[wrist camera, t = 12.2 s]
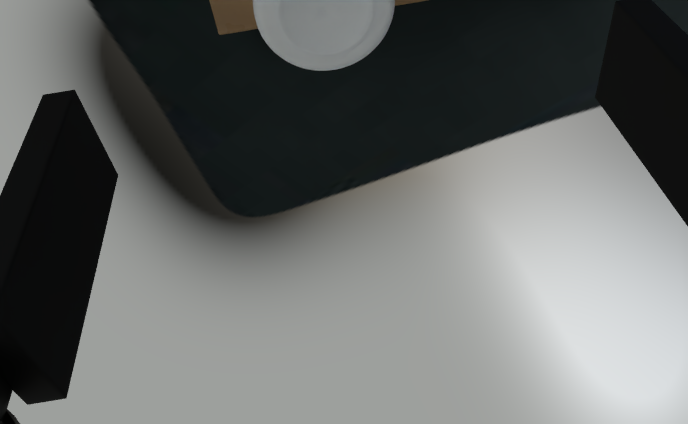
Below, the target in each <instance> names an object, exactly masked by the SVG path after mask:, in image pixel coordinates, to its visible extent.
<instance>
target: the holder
mask: <svg viewBox="0 0 688 424" xmlns="http://www.w3.org/2000/svg"><path fill="white" fill-rule="evenodd" d="M209 1H210V5H211V8H212V12H213V15H214V19H215V22H216V26H217V29H218V33H219V35H223V34H229V33H235V32H241V31H247V30H253V29H258V27H257V24H256V20H255V16H254V10H253V0H209ZM421 1H427V0H395V6H397V5H403V4H409V3H415V2H421Z"/></svg>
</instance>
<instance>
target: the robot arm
mask: <svg viewBox="0 0 688 424" xmlns="http://www.w3.org/2000/svg"><path fill="white" fill-rule="evenodd" d="M595 98H596V99H597V101H598V102H599V103H600V105H601V106H602V107H603V109H604V110H605V111H606V113H607V114H608V116H609V117H610V118H611V120H612V121H613V123H614V124H615V126H616V127H617V128H618V130H619V131H620V133H621V134H622V135H623V137H624V138H625V139H626V141H627V142H628V143H629V145H630V146H631V148H632V149H633V151H634V152H635V153H636V155H637V156H638V158H639V159H640V160H641V162H642V163H643V165H644V166H645V167H646V169H647V170H648V172H649V173H650V174H651V176H652V177H653V178H654V180H655V181H656V183H657V184H658V186H659V187H660V188H661V190H662V191H663V192H664V194H665V195H666V197H667V198H668V199H669V201H670V202H671V204H672V205H673V206H674V208H675V209H676V211H677V212H678V213H679V215H680V216H681V218H682V219H683V220H684V222H685V223H686V225H687V226H688V35H687V34H686V33H685V32H684V31H683V30H682V29H681V28H680V27H679V26H678V25H677V24H676V23H675V22H673V21H672V20H671V19H670V18H669V17H668V16H667V15H666V14H665V13H664V12H663V11H662V10H661V9H660V8H659V7H658V6H657V5H656V4H655V3H654V2H653V1H652V0H622V1H616V2H615V7H614V11H613V16H612V21H611V25H610V30H609V35H608V40H607V44H606V49H605V54H604V58H603V63H602V68H601V73H600V77H599V82H598V87H597V91H596V96H595ZM117 178H118V174H117V172H116V170H115V168H114V166H113V164H112V162H111V160H110V158H109V157H108V154H107V152H106V150H105V148H104V147H103V144H102V143H101V141H100V139H99V137H98V135H97V133H96V131H95V129H94V127H93V125H92V123H91V121H90V119H89V117H88V115H87V113H86V111H85V109H84V107H83V105H82V103H81V101H80V99H79V97H78V96H77V94H76V91H75V90H70V91H65V92H58V93H52V94H46V95H43V96H42V99H41V101H40V103H39V106H38V108H37V111H36V113H35V115H34V118H33V120H32V122H31V125H30V127H29V129H28V132H27V134H26V136H25V139H24V141H23V143H22V146H21V148H20V150H19V153H18V155H17V158H16V160H15V162H14V164H13V167H12V169H11V171H10V174H9V176H8V179H7V181H6V183H5V186H4V188H3V190H2V193H1V195H0V424H20V423H19V422H18V421H17V419H16V417H15V416H14V415H13V414H12V413H11V412H10V411H9V410H7V406H8V403H9V400H10V397H11V393H12V390H13V391H14V392H15V393H16V394H17V395H18V396H19V397H20V398H21V399H22V400H23V401H24V402H25V403H26V404H34V403H40V402H46V401H53V400H58V399H65V398H66V397H67V393H68V389H69V384H70V380H71V376H72V371H73V367H74V363H75V359H76V354H77V350H78V346H79V341H80V337H81V333H82V328H83V324H84V320H85V315H86V311H87V307H88V303H89V298H90V294H91V290H92V285H93V281H94V277H95V272H96V268H97V264H98V259H99V255H100V251H101V247H102V242H103V238H104V234H105V229H106V225H107V221H108V216H109V212H110V208H111V203H112V199H113V194H114V190H115V186H116V182H117Z"/></svg>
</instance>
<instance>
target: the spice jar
mask: <svg viewBox="0 0 688 424" xmlns="http://www.w3.org/2000/svg"><path fill="white" fill-rule="evenodd" d="M394 7H395V0H253V10H254V16H255V20H256V24H257V27H258V29H259V31H260V33H261V36H262V37H263V39H264V40H265V42H266V43H267V45H268V46H269V47H270V48H271V49H272V50H273V51H274V52H275V53H276V54H277V55H278V56H280V57H281V58H282V59H284V60H285V61H287V62H289V63H291V64H293V65H295V66H298V67H301V68H305V69H309V70H316V71H327V70H336V69H340V68H343V67H346V66H350V65H352V64H354V63H356V62H358V61H359V60H361V59H363V58H364V57H366V56H367V55H368V54H369V53H371V52H372V51H373V50H374V49H375V48H376V47H377V46H378V44H379V43H380V42H381V41H382V39H383V38H384V36H385V34H386V33H387V31H388V29H389V26H390V24H391V21H392V18H393V14H394Z"/></svg>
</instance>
